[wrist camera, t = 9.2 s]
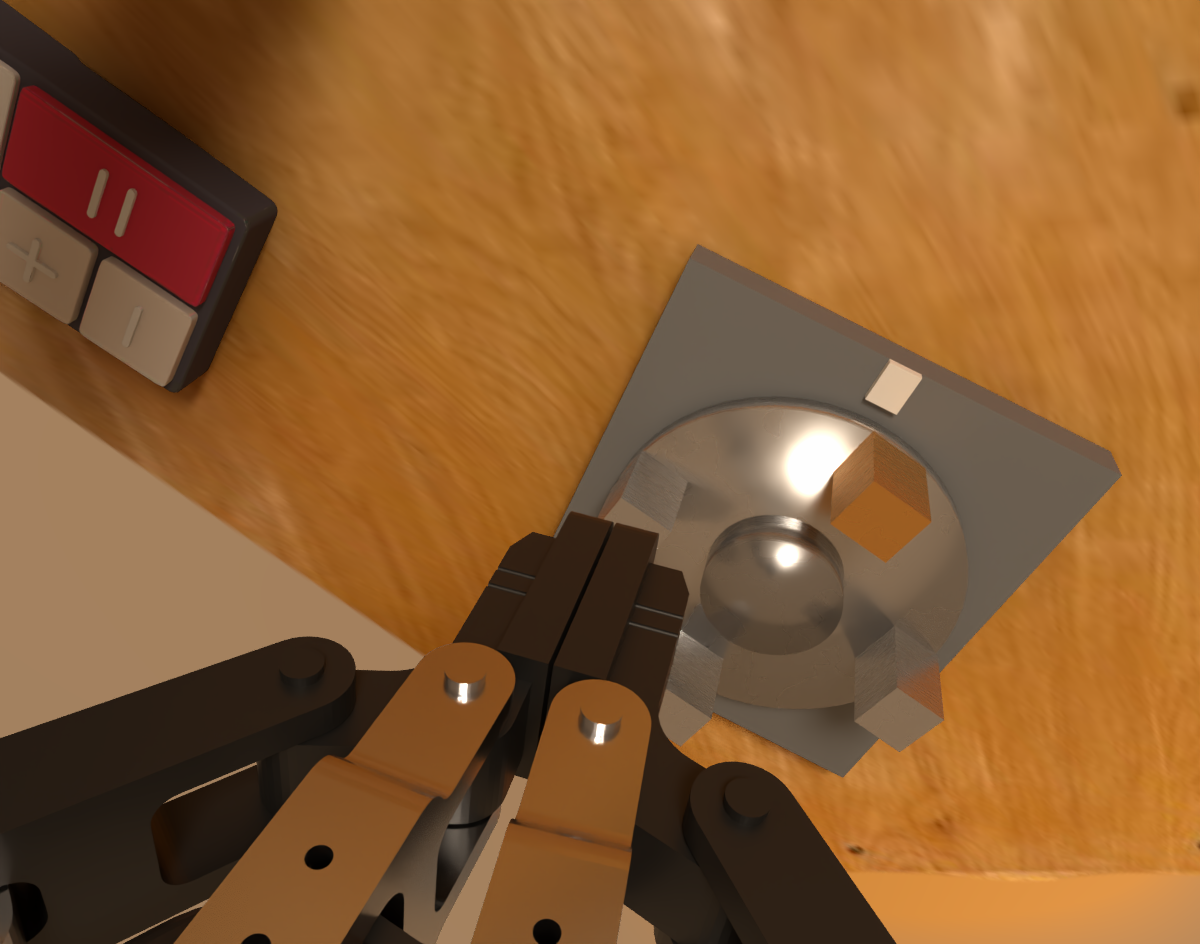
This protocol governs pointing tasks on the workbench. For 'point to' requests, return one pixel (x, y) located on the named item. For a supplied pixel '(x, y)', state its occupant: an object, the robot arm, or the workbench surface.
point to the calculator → (117, 213)
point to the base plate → (880, 393)
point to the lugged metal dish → (800, 563)
